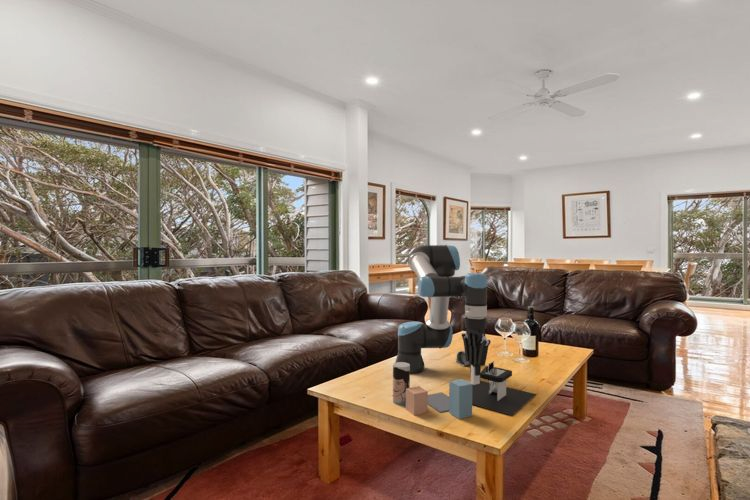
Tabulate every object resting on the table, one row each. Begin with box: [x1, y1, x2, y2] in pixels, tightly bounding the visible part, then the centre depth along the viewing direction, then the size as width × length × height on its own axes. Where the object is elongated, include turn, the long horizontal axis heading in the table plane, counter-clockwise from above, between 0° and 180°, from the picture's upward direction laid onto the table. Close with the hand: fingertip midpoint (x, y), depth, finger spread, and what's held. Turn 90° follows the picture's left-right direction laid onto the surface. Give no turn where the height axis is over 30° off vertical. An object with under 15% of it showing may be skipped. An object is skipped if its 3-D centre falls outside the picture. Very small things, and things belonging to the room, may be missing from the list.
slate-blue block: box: [448, 378, 473, 420], centre depth 150 cm, size 6×6×12 cm
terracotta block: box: [405, 386, 429, 416], centre depth 154 cm, size 6×6×8 cm
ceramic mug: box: [455, 349, 470, 367], centre depth 213 cm, size 11×8×8 cm
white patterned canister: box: [392, 362, 411, 406], centre depth 162 cm, size 7×7×15 cm
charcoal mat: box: [428, 392, 449, 414], centre depth 162 cm, size 16×12×1 cm
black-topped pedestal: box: [472, 360, 537, 416], centre depth 168 cm, size 28×26×13 cm
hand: (475, 383), depth 142 cm, fingers closed
